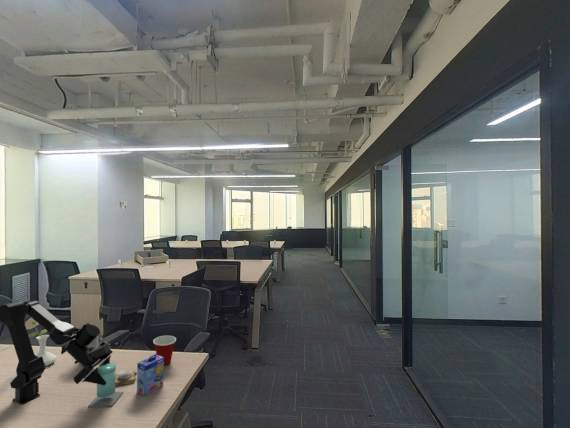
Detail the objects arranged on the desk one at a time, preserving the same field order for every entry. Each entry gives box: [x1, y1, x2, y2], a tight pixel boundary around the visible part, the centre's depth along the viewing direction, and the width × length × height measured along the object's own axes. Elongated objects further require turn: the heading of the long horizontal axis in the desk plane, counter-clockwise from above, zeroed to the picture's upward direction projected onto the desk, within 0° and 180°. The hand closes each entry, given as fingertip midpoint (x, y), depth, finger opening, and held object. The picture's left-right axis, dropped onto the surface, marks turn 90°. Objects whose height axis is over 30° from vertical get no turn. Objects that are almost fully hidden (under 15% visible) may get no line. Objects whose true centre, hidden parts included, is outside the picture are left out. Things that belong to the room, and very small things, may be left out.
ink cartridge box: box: [136, 353, 165, 396], centre depth 132 cm, size 10×6×14 cm, turn 152°
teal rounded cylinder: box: [96, 362, 117, 397], centre depth 123 cm, size 7×7×10 cm
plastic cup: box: [152, 335, 177, 367], centre depth 154 cm, size 11×11×12 cm
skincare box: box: [87, 326, 100, 349], centre depth 157 cm, size 8×7×16 cm
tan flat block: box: [115, 369, 137, 387], centre depth 138 cm, size 9×8×3 cm
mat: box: [87, 391, 124, 408], centre depth 123 cm, size 9×9×1 cm
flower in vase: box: [24, 317, 58, 367], centre depth 153 cm, size 13×11×25 cm
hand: (109, 379), depth 123 cm, fingers closed on teal rounded cylinder, 6 cm apart
